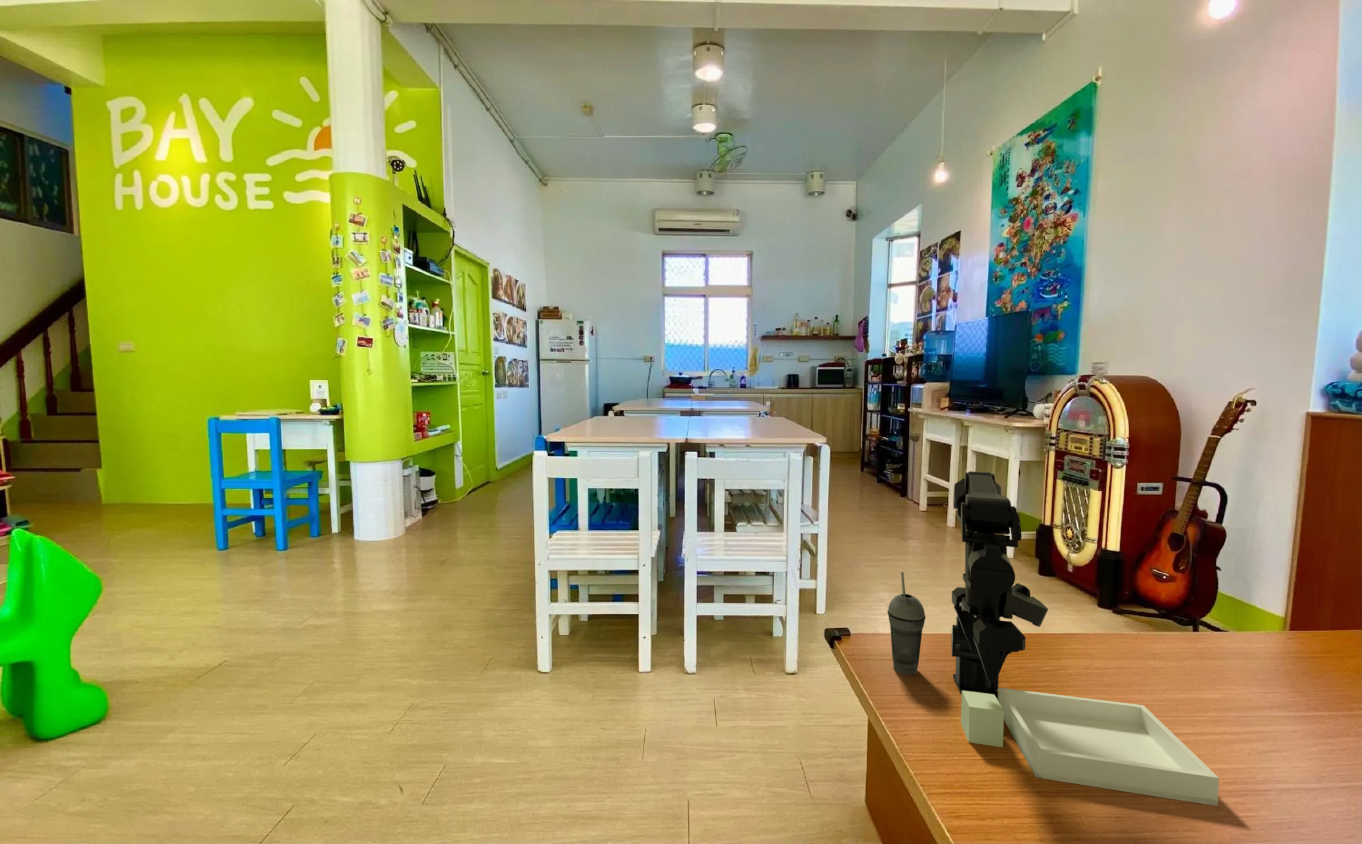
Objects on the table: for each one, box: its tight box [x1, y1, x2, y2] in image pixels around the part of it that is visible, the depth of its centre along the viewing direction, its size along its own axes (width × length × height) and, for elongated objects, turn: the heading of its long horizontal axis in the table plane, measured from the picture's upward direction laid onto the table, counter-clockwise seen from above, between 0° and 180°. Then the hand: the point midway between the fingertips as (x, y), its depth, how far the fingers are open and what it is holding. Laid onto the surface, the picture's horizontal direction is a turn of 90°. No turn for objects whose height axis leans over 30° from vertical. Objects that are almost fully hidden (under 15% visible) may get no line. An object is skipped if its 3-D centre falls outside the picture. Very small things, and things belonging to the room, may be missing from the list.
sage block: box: [960, 691, 1005, 748], centre depth 89 cm, size 5×5×6 cm
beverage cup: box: [886, 571, 927, 676], centre depth 111 cm, size 7×7×20 cm
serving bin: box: [997, 687, 1220, 807], centre depth 85 cm, size 22×18×4 cm
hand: (983, 666), depth 89 cm, fingers open, 9 cm apart
